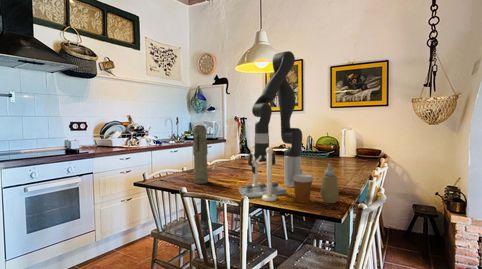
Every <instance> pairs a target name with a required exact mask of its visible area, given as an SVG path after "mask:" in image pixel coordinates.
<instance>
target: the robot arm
mask: <svg viewBox="0 0 482 269" xmlns="http://www.w3.org/2000/svg"><path fill="white" fill-rule="evenodd" d="M295 62H296V57H295V55H294V52H292V51H290V50H289V51H288V50H287V51H281V52H277V53H276V54H274V55H273V57H272V67H273V72H274V75H273V76H272V77H271V78H270V79H269V80H268V81H267V83H266V84H265V86H264V88H263V90H262V93H261V94H260V96H259V97H258V98H257V100H256V101H255V102H254V103H253V105H252V108H251V112H252V115H253V116H254V117H256V118H259V121H256V122H255V124H254V144H255V153H254V154H253V153H248V159H247V165H248V166H250V167H251V173H252V174H255V165H256V164H257V163H263V162H265V163H267V153H266V149H267V148H270V136H269V135H270V133H269V132H270V131H269V125H270V121H271V117H272V114H273V113H272V111H273V110H272V106H271V103H272V102H274V101H275V98H276V96H277V99H278V106H279V117H280V138H281V141H282V142H283V143H284V144H287V145H288V144H289V145H291V147H290V148H289V149H286V150H285V151H284V152H283V153H284V155H283V157H284V159H283V160H284V163H283V164H284V165H283V166H284V168H283V170H284V172H283V173H284V178H283V180H284V183H283V184H284V185H283V186H285V187H286V188H294V181H293V175H295V174H303V169H302V166H301V164H302V163H301V161H302V156H301V155H302V149H303V131H302V129H300V128H298V127H291V118H292V115H293V113H294V110H295V108H296V95H295V91H294V89H293V87H292V86H291V84H290V83H289V82H288V79H287V76H288V74H289V73H290V72H291V70H292V68H293V67H294V65H295ZM253 156H254V157H255V159H254V161H253ZM273 165H276V153H275V152H272V166H273Z"/></svg>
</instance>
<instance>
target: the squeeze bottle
mask: <svg viewBox="0 0 482 269" xmlns="http://www.w3.org/2000/svg"><path fill="white" fill-rule="evenodd" d="M332 167H333V166H332V163H331V162H329V163H327V168H326V169H325V170H324V172H323V175H322V177H321V184H320V191H319V192H320V197H321V200H322V202H323V203H325V204H326V203H327V204H336V203H337V202H338V201H337V200H338V197H339V186H338V184H339V183H338V177H337V176H336V171H335V170H333V168H332Z"/></svg>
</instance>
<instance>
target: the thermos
mask: <svg viewBox="0 0 482 269" xmlns="http://www.w3.org/2000/svg"><path fill="white" fill-rule="evenodd" d="M208 151H209V150H208V144H207V129H206V126H205V125H201V124H200V125H195V126H194V127H193V145H192V155H193V167H194V169H193V183H194V184H196V185H204V184H208V183H209V171H208Z"/></svg>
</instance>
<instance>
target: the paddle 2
mask: <svg viewBox="0 0 482 269" xmlns="http://www.w3.org/2000/svg"><path fill="white" fill-rule="evenodd" d="M278 185H279V182H277V181H274V182H273V181H272V187H273V188H274V187H277V186H278Z"/></svg>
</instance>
